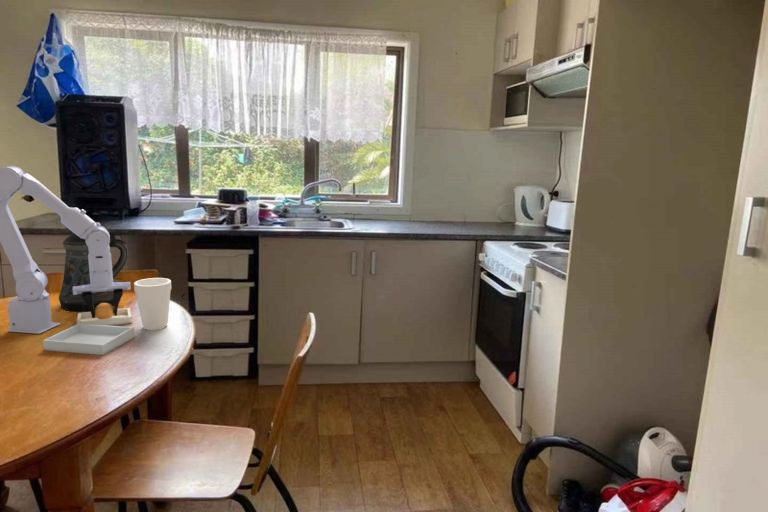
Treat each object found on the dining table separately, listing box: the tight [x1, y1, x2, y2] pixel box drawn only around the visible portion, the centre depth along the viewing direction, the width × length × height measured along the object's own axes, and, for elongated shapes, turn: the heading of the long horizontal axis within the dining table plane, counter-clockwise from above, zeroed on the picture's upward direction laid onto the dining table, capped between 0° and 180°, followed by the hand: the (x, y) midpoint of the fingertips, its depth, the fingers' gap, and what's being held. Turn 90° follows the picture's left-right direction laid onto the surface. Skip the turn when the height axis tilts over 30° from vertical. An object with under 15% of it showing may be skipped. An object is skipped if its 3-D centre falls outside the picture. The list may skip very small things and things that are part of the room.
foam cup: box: [133, 277, 172, 331], centre depth 150 cm, size 10×9×13 cm
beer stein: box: [58, 229, 129, 313], centre depth 167 cm, size 16×19×25 cm
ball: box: [94, 303, 114, 319], centre depth 153 cm, size 5×5×5 cm
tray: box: [42, 323, 135, 356], centre depth 137 cm, size 16×13×3 cm
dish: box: [76, 307, 133, 326], centre depth 154 cm, size 14×9×2 cm
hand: (104, 315), depth 153 cm, fingers closed on ball, 5 cm apart
